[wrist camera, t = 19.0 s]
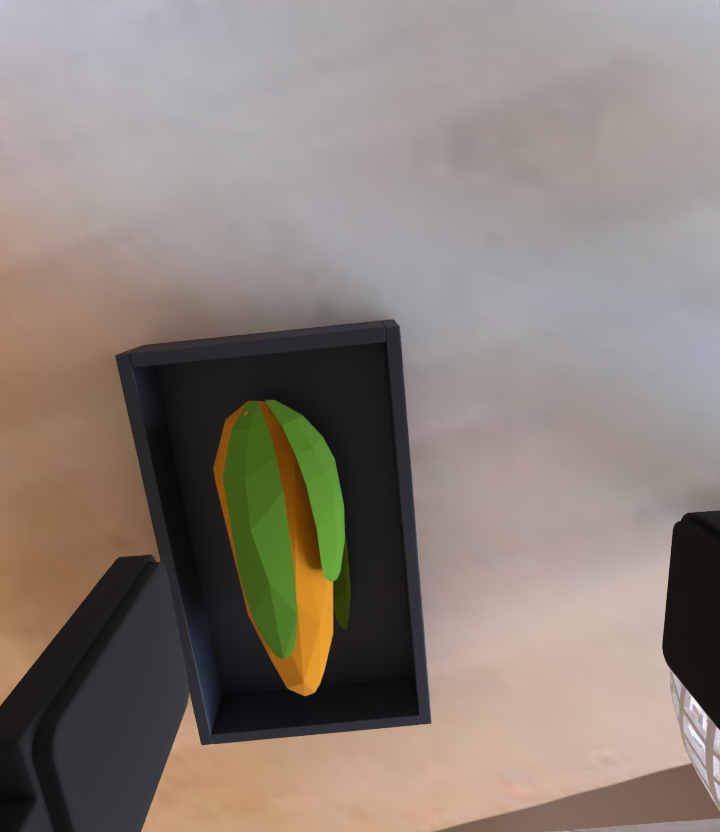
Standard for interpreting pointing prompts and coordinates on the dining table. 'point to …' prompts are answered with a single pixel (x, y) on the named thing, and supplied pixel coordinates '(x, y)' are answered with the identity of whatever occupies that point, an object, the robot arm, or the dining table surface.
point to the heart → (698, 738)
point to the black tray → (363, 515)
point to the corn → (285, 535)
